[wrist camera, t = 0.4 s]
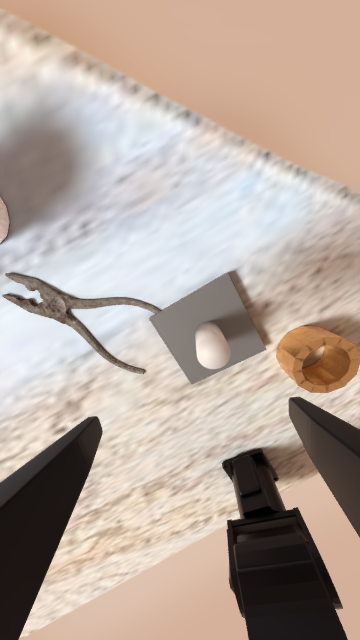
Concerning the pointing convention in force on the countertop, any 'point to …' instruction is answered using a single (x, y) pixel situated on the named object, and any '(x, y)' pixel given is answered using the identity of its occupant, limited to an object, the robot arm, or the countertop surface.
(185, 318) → the grey peg stand
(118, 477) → the countertop surface
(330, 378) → the ring
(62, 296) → the pliers
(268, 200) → the countertop surface
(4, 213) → the white cup
